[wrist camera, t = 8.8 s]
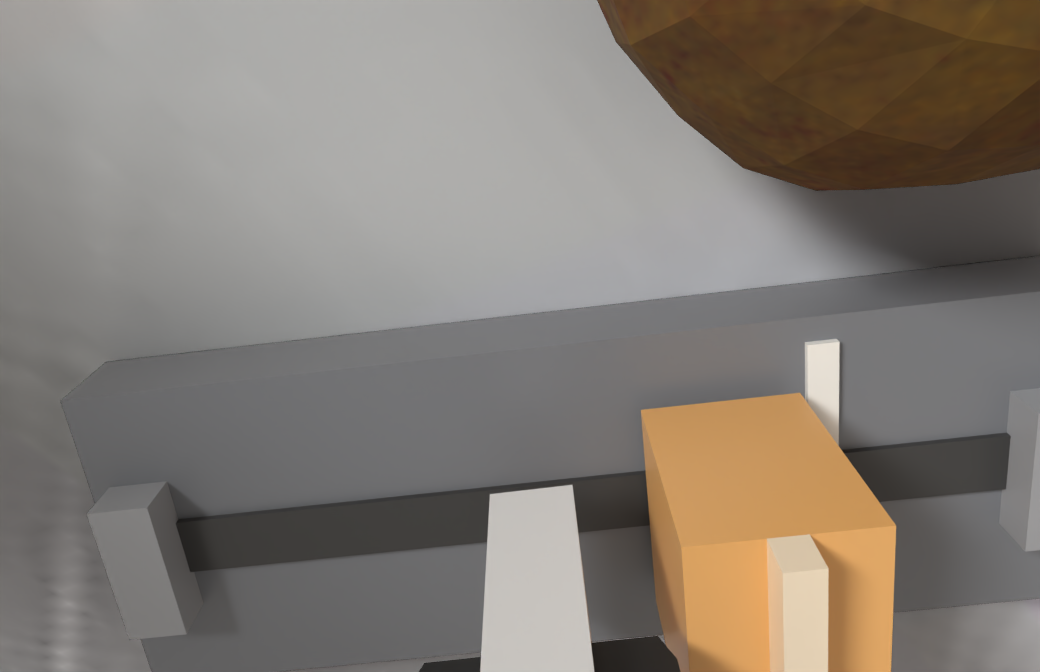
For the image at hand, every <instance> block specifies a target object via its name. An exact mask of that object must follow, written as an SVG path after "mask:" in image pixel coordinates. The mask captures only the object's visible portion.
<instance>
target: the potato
mask: <svg viewBox="0 0 1040 672" xmlns="http://www.w3.org/2000/svg"><path fill="white" fill-rule="evenodd" d="M597 1H598V3H599V5H600V8H601V10H602V12H603V14H604V16H605V19H606V21H607V23H608V25H609V27H610V30H611V32H612V34H613V36H614V38H615V41H616V42H617V44H618V45H619V46H620V47H621V48H622V49H623V51H624V52H625V53H626V54H627V55H628V57H629V58H630V59H631V60H632V61H633V63H634V64H635V65H636V66H637V67H638V69H639V70H640V71H641V72H642V73H643V74H644V76H645V77H646V78H647V79H648V80H649V82H650V83H651V84H652V85H653V86H654V88H655V89H656V90H657V91H658V92H659V93H660V95H661V96H662V97H663V98H664V99H665V101H666V102H667V103H668V104H669V105H670V107H671V108H672V109H673V110H674V111H675V113H676V114H677V115H678V116H679V117H680V118H682V119H683V120H684V121H685V122H687V123H688V124H689V125H690V126H692V127H693V128H694V129H695V130H697V131H698V132H699V133H700V134H702V135H703V136H704V137H705V138H707V139H708V140H709V141H710V142H711V143H713V144H714V145H715V146H716V147H718V148H719V149H720V150H721V151H723V152H724V153H725V154H726V155H728V156H729V157H730V158H731V159H733V160H734V161H735V162H736V163H738V164H739V165H740V166H741V167H743V168H745V169H748V170H751V171H754V172H758V173H761V174H764V175H767V176H771V177H774V178H777V179H780V180H784V181H787V182H790V183H793V184H796V185H800V186H803V187H806V188H809V189H813V190H816V191H819V190H865V189H881V188H898V187H915V186H932V185H949V184H960V183H965V182H970V181H976V180H981V179H987V178H992V177H997V176H1003V175H1008V174H1014V173H1019V172H1024V171H1030V170H1035V169H1040V0H597Z"/></svg>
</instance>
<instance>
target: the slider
mask: <svg viewBox="0 0 1040 672" xmlns="http://www.w3.org/2000/svg"><path fill="white" fill-rule="evenodd" d="M641 419H642V432H643V445H644V457H645V470H646V482H647V495H648V507H649V520H650V533H651V545H652V558H653V570H654V583H655V595H656V603H657V608H658V612H659V617H660V621H661V625H662V630H663V634H664V639H665V643H666V646H667V648H668V649H669V650H670V651H671V652H672V653H673V655H674V656H675V657H676V658H677V660H678V664H679V668H680V672H891V656H892V629H893V601H894V574H895V546H896V525H895V523H894V522H893V520H892V519H891V518H890V516H889V515H888V514H887V512H886V511H885V509H884V508H883V507H882V505H881V504H880V503H879V501H878V500H877V498H876V497H875V496H874V494H873V493H872V491H871V490H870V489H869V487H868V486H867V485H866V483H865V482H864V480H863V479H862V478H861V476H860V475H859V473H858V472H857V471H856V469H855V468H854V467H853V465H852V464H851V462H850V461H849V460H848V458H847V457H846V456H845V454H844V453H843V451H842V450H841V449H840V447H839V446H838V444H837V443H836V442H835V440H834V439H833V438H832V436H831V435H830V433H829V432H828V431H827V429H826V428H825V427H824V425H823V424H822V422H821V421H820V420H819V418H818V417H817V415H816V414H815V413H814V411H813V410H812V409H811V407H810V406H809V404H808V403H807V402H806V400H805V399H804V397H803V396H802V395H801V393H792V394H783V395H774V396H765V397H755V398H746V399H737V400H728V401H718V402H709V403H700V404H690V405H681V406H672V407H663V408H653V409H644V410H641Z"/></svg>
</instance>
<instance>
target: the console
mask: <svg viewBox="0 0 1040 672" xmlns="http://www.w3.org/2000/svg"><path fill="white" fill-rule="evenodd" d="M792 393H801V395H802V396H803V397H804V399H805V400H806V402H807V403H808V404H809V406H810V407H811V409H812V410H813V411H814V413H815V414H816V415H817V417H818V418H819V420H820V421H821V422H822V424H823V425H824V427H825V428H826V429H827V431H828V432H829V433H830V435H831V436H832V438H833V439H834V440H835V442H836V443H837V444H838V446H839V447H840V449H841V450H842V451H843V453H844V454H845V456H846V457H847V458H848V460H849V461H850V462H851V464H852V465H853V467H854V468H855V469H856V471H857V472H858V473H859V475H860V476H861V478H862V479H863V480H864V482H865V483H866V485H867V486H868V487H869V489H870V490H871V491H872V493H873V494H874V496H875V497H876V498H877V500H878V501H879V503H880V504H881V505H882V507H883V508H884V509H885V511H886V512H887V514H888V515H889V516H890V518H891V519H892V520H893V522H894V523H895V525H896V546H895V574H894V601H893V613H894V612H904V611H914V610H925V609H935V608H946V607H956V606H966V605H977V604H987V603H998V602H1008V601H1018V600H1029V599H1039V598H1040V256H1036V257H1027V258H1018V259H1009V260H1000V261H992V262H983V263H974V264H965V265H956V266H947V267H939V268H930V269H921V270H912V271H903V272H895V273H886V274H877V275H868V276H859V277H850V278H842V279H833V280H824V281H815V282H806V283H798V284H789V285H780V286H771V287H762V288H753V289H745V290H736V291H727V292H718V293H709V294H701V295H692V296H683V297H674V298H665V299H656V300H648V301H639V302H630V303H621V304H612V305H604V306H595V307H586V308H577V309H568V310H559V311H551V312H542V313H533V314H524V315H515V316H507V317H498V318H489V319H480V320H471V321H462V322H454V323H445V324H436V325H427V326H418V327H410V328H401V329H392V330H383V331H374V332H365V333H357V334H348V335H339V336H330V337H321V338H313V339H304V340H295V341H286V342H277V343H268V344H260V345H251V346H242V347H233V348H224V349H215V350H207V351H198V352H189V353H180V354H171V355H163V356H154V357H145V358H136V359H127V360H118V361H110V362H105V363H104V364H103V365H102V366H101V367H100V368H98V369H97V370H96V371H95V372H94V373H92V374H91V375H90V376H89V377H88V378H87V379H85V380H84V381H83V382H82V383H81V384H79V385H78V386H77V387H76V388H75V389H74V390H72V391H71V392H70V393H69V394H68V395H67V396H65V397H64V398H63V399H62V400H61V404H62V407H63V410H64V413H65V416H66V419H67V422H68V425H69V428H70V431H71V434H72V437H73V440H74V443H75V446H76V449H77V452H78V455H79V458H80V461H81V464H82V467H83V469H84V472H85V475H86V478H87V481H88V484H89V487H90V490H91V493H92V496H93V499H94V502H95V505H94V506H93V507H92V508H91V509H90V510H89V512H88V513H87V514H86V515H87V518H88V521H89V524H90V526H91V529H92V532H93V535H94V538H95V541H96V544H97V547H98V550H99V553H100V556H101V559H102V561H103V564H104V567H105V570H106V573H107V576H108V579H109V582H110V585H111V588H112V591H113V594H114V597H115V599H116V602H117V605H118V608H119V611H120V614H121V617H122V620H123V623H124V626H125V629H126V632H127V634H128V637H129V640H134V639H141V642H142V645H143V648H144V651H145V653H146V656H147V659H148V662H149V665H150V668H151V671H152V672H281V671H291V670H301V669H312V668H322V667H333V666H343V665H353V664H364V663H374V662H385V661H395V660H405V659H416V658H426V657H436V656H447V655H457V654H468V653H478V652H481V648H482V629H483V611H484V592H485V574H486V556H487V537H488V519H489V501H490V494H496V493H505V492H513V491H522V490H531V489H539V488H548V487H557V486H566V485H572V486H573V494H574V502H575V510H576V518H577V526H578V534H579V542H580V550H581V558H582V566H583V574H584V583H585V591H586V599H587V607H588V615H589V624H590V632H591V641H603V640H613V639H624V638H634V637H644V636H655V635H664V634H663V630H662V625H661V621H660V617H659V612H658V608H657V603H656V595H655V583H654V570H653V558H652V545H651V533H650V520H649V507H648V495H647V482H646V470H645V457H644V445H643V432H642V419H641V410H644V409H653V408H663V407H672V406H681V405H690V404H700V403H709V402H718V401H728V400H737V399H746V398H755V397H765V396H774V395H783V394H792Z"/></svg>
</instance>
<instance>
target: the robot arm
mask: <svg viewBox="0 0 1040 672" xmlns="http://www.w3.org/2000/svg"><path fill="white" fill-rule="evenodd" d="M419 672H680V668H679V664H678V660H677V658H676V657H675V656H674V655H673V653H672V652H671V651H670V650H669V649H668V648H667V646H666V645H665V644H664V643H663V642H662V641H661V640H660V638H659V637H658V636H653V637H644V638H634V639H625V640H615V641H606V642H597V643H592V641H591V632H590V624H589V615H588V607H587V599H586V591H585V583H584V574H583V566H582V558H581V550H580V542H579V534H578V526H577V518H576V510H575V502H574V494H573V486H572V485H566V486H557V487H548V488H539V489H531V490H522V491H513V492H505V493H496V494H490V501H489V519H488V537H487V556H486V574H485V592H484V611H483V629H482V648H481V657H478V658H468V659H459V660H450V661H440V662H431V663H424V665H423V666H422V668H421V669H420V671H419Z"/></svg>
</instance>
